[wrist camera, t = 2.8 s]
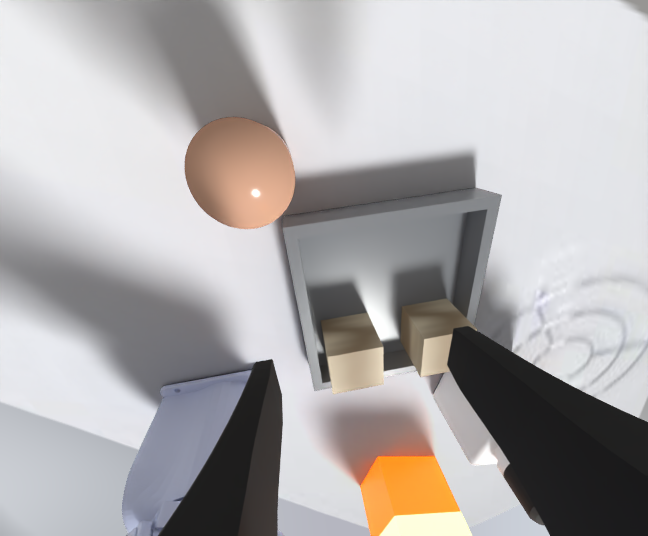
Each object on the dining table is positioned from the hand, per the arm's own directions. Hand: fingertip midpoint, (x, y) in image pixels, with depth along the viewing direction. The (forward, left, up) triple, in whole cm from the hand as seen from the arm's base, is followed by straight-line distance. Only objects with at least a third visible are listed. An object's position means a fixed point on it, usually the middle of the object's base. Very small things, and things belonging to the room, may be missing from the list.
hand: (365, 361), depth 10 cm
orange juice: (+6, -35, -11) cm, 37 cm away
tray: (+4, -4, -11) cm, 12 cm away
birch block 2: (+8, -8, -10) cm, 15 cm away
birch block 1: (+1, -8, -10) cm, 12 cm away
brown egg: (-4, +7, -11) cm, 13 cm away
